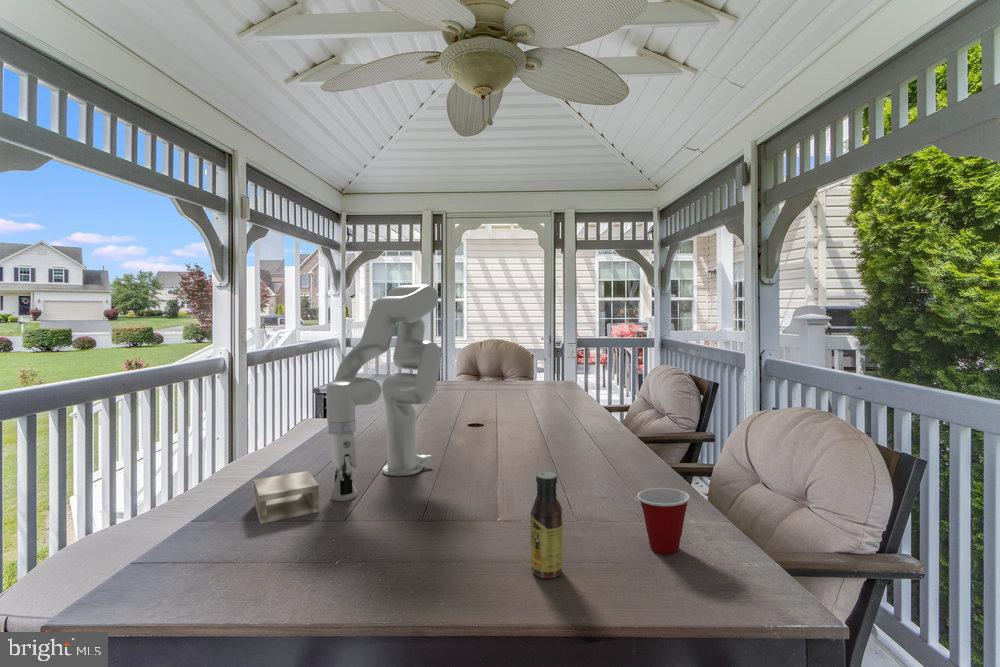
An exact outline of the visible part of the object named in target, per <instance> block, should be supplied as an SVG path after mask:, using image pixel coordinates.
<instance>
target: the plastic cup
mask: <svg viewBox="0 0 1000 667" xmlns="http://www.w3.org/2000/svg"><path fill="white" fill-rule="evenodd" d="M689 494H690V493H688V492H686V491H683V490H681V489H676V488H667V487H657V488H656V487H654V488H653V487H652V488H648V489H644V490H642V491H639V492H638V493H637V494H636V497H637V499H638V501H639V503H640V504H641V509H642V512H643V517H644V523H645V524H644V525H645V528H646V532H647V537H648V544H649V547H650V549H651V550H652V551H653V553H656V554H659V555H665V556H670V555H675V554H677V553H678V551H679V548H680V544H681V538H682V535H683V529H684V522H685V517H686V512H687V508H688V502H689V500H690V498H691V496H690V495H689Z"/></svg>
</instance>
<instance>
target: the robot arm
mask: <svg viewBox="0 0 1000 667" xmlns="http://www.w3.org/2000/svg"><path fill="white" fill-rule="evenodd" d="M438 301H439V295H438V291H437V289H436V288H435V287H433V286H432V285H430V284H407V285H406V284H405V285H404V284H403V285H398V286H394V287H393V288H391V289H390V291H389V294H388V296H382V297H379V298H377V299H375V300H374V302H372V306H371V309H370V311H369V315H368V317H367V320H366V323H365V327H364V329H363V333H362V336H361V339H360V341H359V342H358V343H357V344H356V345H355V346H354V347H353V348H352V349H351V350H350V351H349V352H348V353H347V355H345V357H344V358H343V360H342V361H341V362H340V365H339V366H338V369H337V371H336V374H335V377H334V381H333V382H330V383H328V384H327V385H326V389H325V391H326V392H325V394H326V396H325V398H326V421H327V423H326V424H327V434H328V435H330V446H331V447H330V449H331V451H330V452H331V453H330V455H331V463H332V464H333V466H334V483H335V482H336V479H337V474H338V469H339V470H340V474H341V480H340V494H341V495H346V494H351V493H352V492H353V489H352V482H353V470H352V468H353V469H356V468H357V467H358V461H357V451H356V450H357V449H356V439H355V434H354V433H355V432H356V431H357V425H356V424H357V423H356V420H357V419H356V406H367V405H372V404H374V403H375V402H376V401H378V400H379V399H380V396H381V394H382V396H383V400H384V406H385V415H386V416H385V419H386V420H385V421H386V422H385V423H386V456H387V458H386V459H387V460H386V461H387V464H385V465H384V466H383V467H382V473H383V474H385V475H387V476H391V477H407V476H412V475H415V474H418V473H420V472H421V471H422V470H423V464H424V463H425V462H426V463H428V462H431V461H432V460H433V458H432V455H431V454H428V455H425V454H421V455H419V453H418V440H417V439H418V435H417V433H418V431H417V414H416V410H415V407H414V405H418V406H419V405H421V406H424V405H425V406H426V405H427V404H430V403H431V402H432V401H433V399H434V397H435V395H436V394H435V393H436V391H437V386H438V380H439V374H440V369H441V363H442V362H441V361H442V354H441V349H440V346H438V344H437V343H436V342H434V341H431V340H424V339H425V338H424V337H425V324H424V321H423V319H422V318H423V317H425V316H427V314H429V313H431V312H432V311H434V310H435V308H436V306H437V304H438V303H439V302H438ZM397 325H398V329H397V330H398V331H397V336H396V342H395V345H394V350H393V356H392V360H393V364H394V366H395V367H397V369H398V368H399V369H401V370H409V371H410V370H411V371H417V372H416V373H410V372H394V373H391V374H388V375H387V376H386V377H385V378H384V379H383V381H382V384H380V383H378V381H376V380H375V379H372V378H367V377H357V375H358V373H359V371H360V370H361V369H362V367H363V366H364V365H365V364H367V363H368V362H370V361H371V360H373V359H375V358H377V357H380V356H381V355H383V354H385V353H386V352H387V351H388V350H389V348H390V346H391V342H392V338H393V336H394V332H395V329H396V326H397ZM342 467H346V469H343V468H342ZM343 471H346V472H345V473H344V475H343Z"/></svg>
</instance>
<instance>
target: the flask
mask: <svg viewBox="0 0 1000 667" xmlns="http://www.w3.org/2000/svg"><path fill="white" fill-rule="evenodd" d="M342 468H343V469H346V467H342ZM345 472H346V471H343V475H344V473H345ZM340 480H341V474H340V470H339V469H338V474H337V479H336V482H335V481H334V486H333V489H332V491H331V495H330V498H329V500H331V501H334V502H335V501H336V502H344V501H345V502H346V501H351V500H352V499H355V498H357V495H358V491H357V489H356V487H355V484H354V482H353V481H352V489H353V492H352V493H351V494H346V495H341V494H340Z"/></svg>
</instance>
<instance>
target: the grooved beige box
mask: <svg viewBox="0 0 1000 667" xmlns="http://www.w3.org/2000/svg"><path fill="white" fill-rule="evenodd" d="M319 488H320V487H319V484H318V483H317V481H316V480H315V478H314V476H313V475H312V474H311V473H310V471H309V470H305V471H300V472H292V473H287V474H282V475H276V476H269V477H262V478H258V479H253V491H254V492H253V495H254V508H255V511H256V514H257V518H258V521H259V524H260V525H261V524H266V523H271V522H276V521H281V520H286V519H291V518H295V517H300V516H305V515H309V514H315V513H320V492H319V490H320V489H319Z"/></svg>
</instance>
